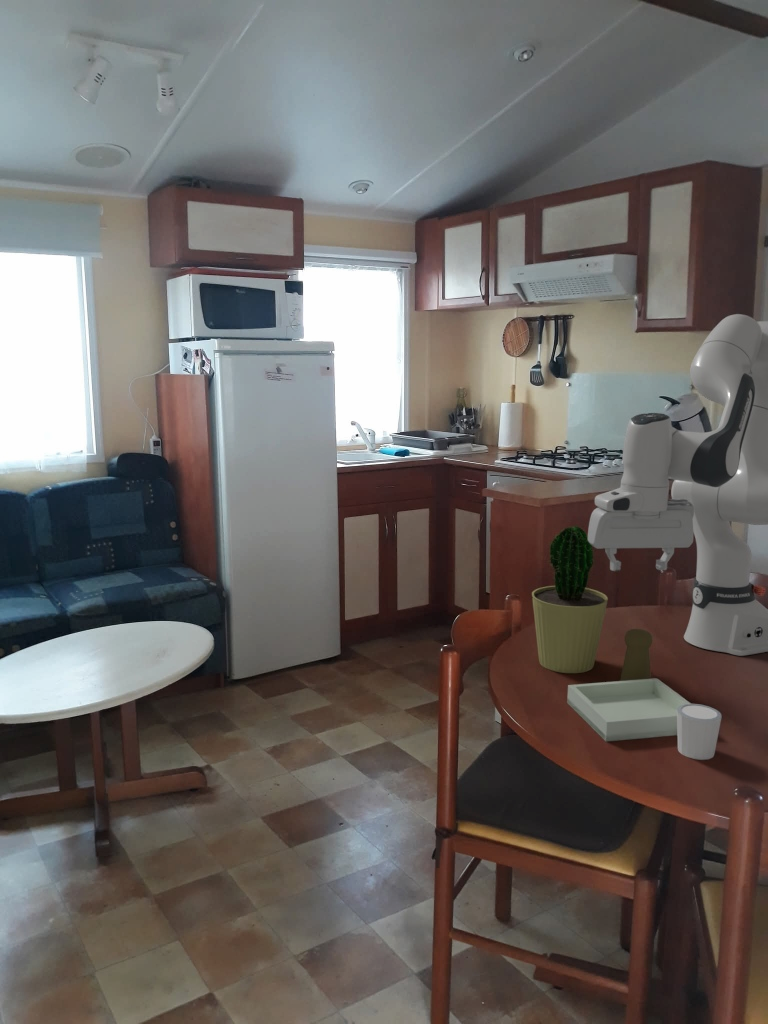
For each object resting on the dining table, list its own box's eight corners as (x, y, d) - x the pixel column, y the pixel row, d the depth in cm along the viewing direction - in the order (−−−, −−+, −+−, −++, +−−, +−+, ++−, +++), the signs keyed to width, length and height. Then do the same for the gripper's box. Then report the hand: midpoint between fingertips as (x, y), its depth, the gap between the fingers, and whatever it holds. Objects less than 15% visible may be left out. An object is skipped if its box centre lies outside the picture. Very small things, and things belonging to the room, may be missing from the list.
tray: (655, 695, 159) (656, 678, 158) (702, 732, 144) (704, 713, 143) (567, 702, 156) (568, 685, 155) (605, 741, 140) (606, 722, 140)
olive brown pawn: (648, 678, 167) (651, 626, 165) (654, 690, 161) (658, 636, 159) (617, 677, 168) (620, 625, 166) (622, 689, 162) (626, 635, 160)
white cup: (727, 757, 135) (731, 717, 134) (692, 764, 133) (696, 723, 131) (698, 739, 141) (701, 700, 140) (664, 745, 139) (667, 706, 138)
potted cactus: (578, 647, 185) (584, 514, 179) (618, 671, 171) (627, 528, 165) (516, 654, 180) (521, 518, 174) (552, 681, 166) (559, 533, 160)
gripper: (686, 496, 163) (680, 565, 166) (586, 496, 160) (582, 566, 163) (703, 501, 157) (696, 573, 160) (599, 502, 154) (594, 574, 157)
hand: (638, 569), depth 161 cm, fingers open, 8 cm apart
